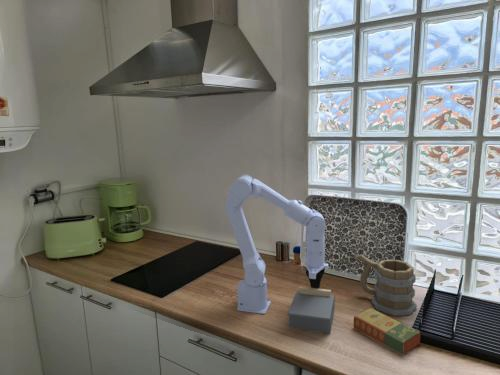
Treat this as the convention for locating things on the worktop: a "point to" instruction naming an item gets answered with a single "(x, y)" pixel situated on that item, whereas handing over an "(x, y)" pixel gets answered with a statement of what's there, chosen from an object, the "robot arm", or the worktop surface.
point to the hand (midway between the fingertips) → (315, 290)
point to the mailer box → (312, 322)
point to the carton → (387, 331)
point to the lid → (312, 303)
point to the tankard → (390, 285)
